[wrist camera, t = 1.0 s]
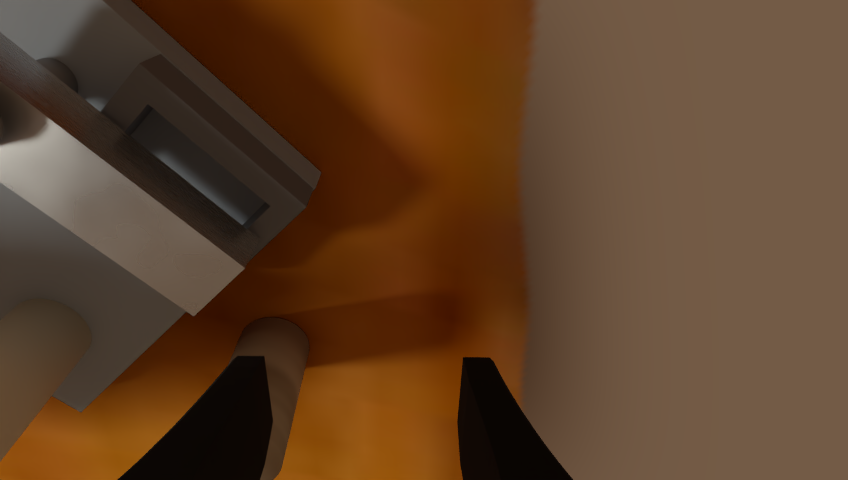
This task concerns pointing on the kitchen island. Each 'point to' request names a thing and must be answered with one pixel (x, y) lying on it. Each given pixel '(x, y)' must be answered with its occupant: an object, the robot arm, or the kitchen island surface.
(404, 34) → the kitchen island surface
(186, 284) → the bar
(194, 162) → the board
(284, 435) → the leg peg
